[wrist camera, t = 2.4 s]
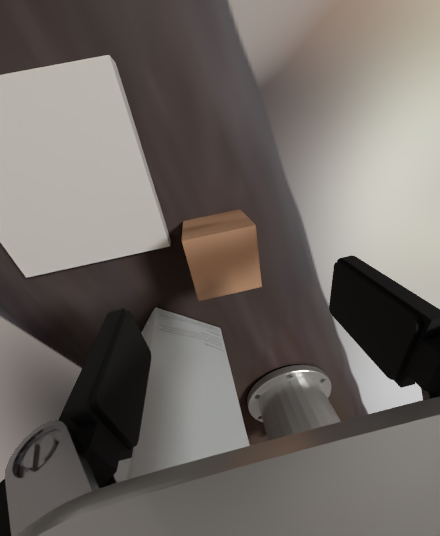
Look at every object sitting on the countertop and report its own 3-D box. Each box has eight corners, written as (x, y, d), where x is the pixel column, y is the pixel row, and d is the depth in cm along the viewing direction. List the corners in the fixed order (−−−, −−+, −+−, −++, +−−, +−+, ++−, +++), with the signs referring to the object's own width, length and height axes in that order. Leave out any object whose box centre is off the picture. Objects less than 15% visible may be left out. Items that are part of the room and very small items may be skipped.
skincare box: (135, 342, 24) (70, 569, 11) (156, 301, 22) (108, 522, 9) (201, 360, 26) (215, 558, 13) (226, 326, 24) (270, 520, 11)
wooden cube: (246, 259, 21) (261, 286, 16) (196, 270, 21) (198, 301, 16) (239, 209, 18) (255, 224, 14) (183, 221, 18) (181, 241, 14)
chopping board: (171, 241, 19) (169, 246, 18) (35, 270, 18) (26, 277, 17) (115, 63, 13) (109, 54, 12) (-83, 100, 13) (-107, 94, 12)
